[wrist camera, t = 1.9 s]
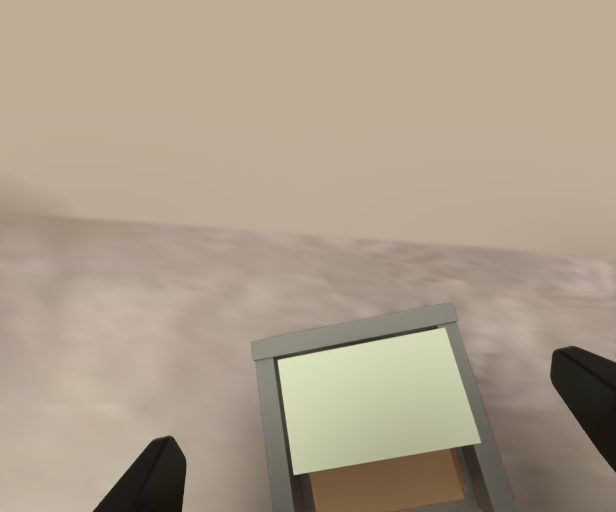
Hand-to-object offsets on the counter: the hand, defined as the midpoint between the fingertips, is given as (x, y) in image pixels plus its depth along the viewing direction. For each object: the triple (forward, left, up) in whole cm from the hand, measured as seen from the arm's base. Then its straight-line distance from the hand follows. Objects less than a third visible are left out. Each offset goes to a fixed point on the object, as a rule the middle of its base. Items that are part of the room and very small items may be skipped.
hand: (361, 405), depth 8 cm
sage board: (0, 0, -13) cm, 13 cm away
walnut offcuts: (-4, 0, -13) cm, 14 cm away
